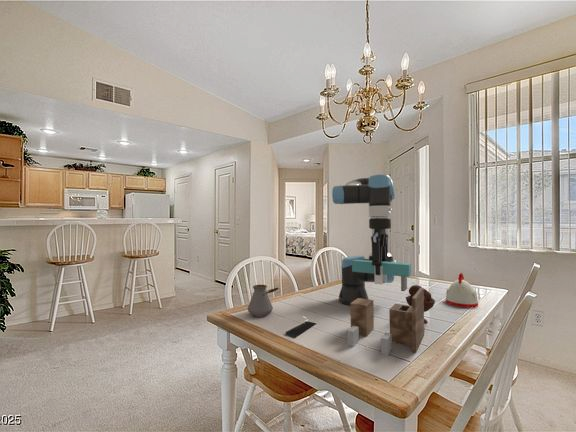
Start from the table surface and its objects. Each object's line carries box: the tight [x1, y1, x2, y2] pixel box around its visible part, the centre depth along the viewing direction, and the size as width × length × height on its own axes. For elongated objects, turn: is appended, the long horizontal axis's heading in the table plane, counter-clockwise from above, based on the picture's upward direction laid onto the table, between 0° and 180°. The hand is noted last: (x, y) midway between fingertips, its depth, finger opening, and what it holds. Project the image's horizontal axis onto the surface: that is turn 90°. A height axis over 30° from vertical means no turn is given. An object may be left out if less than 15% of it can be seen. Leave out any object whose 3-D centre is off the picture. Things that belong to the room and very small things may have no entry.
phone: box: [285, 321, 317, 339], centre depth 111 cm, size 8×1×15 cm
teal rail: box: [352, 260, 412, 292], centre depth 104 cm, size 20×4×9 cm, turn 56°
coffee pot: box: [247, 284, 280, 318], centre depth 127 cm, size 21×12×15 cm, turn 35°
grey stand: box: [347, 326, 393, 357], centre depth 94 cm, size 13×5×6 cm, turn 56°
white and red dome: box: [445, 272, 479, 309], centre depth 144 cm, size 14×14×15 cm
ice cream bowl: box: [405, 284, 436, 325], centre depth 120 cm, size 11×11×15 cm
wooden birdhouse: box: [389, 287, 425, 354], centre depth 99 cm, size 9×16×18 cm, turn 146°
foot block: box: [349, 298, 375, 338], centre depth 108 cm, size 6×8×12 cm
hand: (380, 282), depth 104 cm, fingers closed on teal rail, 4 cm apart
